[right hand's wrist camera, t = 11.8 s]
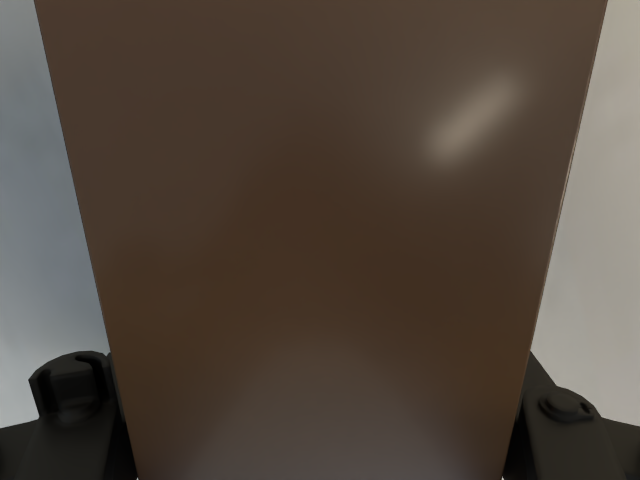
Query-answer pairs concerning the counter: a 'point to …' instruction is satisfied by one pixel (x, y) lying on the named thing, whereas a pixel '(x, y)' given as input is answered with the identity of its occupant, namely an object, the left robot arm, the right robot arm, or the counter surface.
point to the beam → (320, 221)
